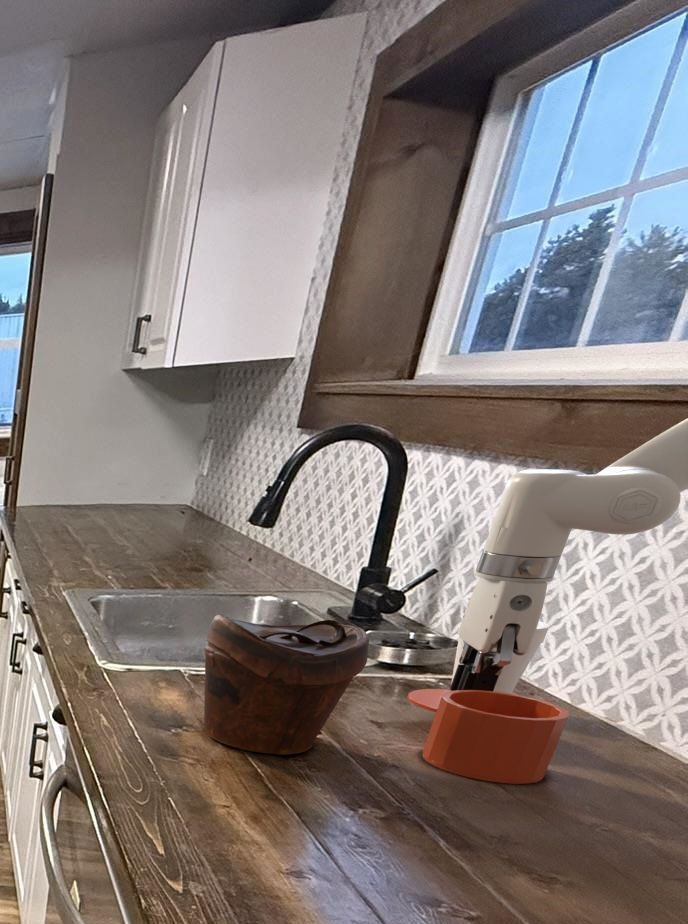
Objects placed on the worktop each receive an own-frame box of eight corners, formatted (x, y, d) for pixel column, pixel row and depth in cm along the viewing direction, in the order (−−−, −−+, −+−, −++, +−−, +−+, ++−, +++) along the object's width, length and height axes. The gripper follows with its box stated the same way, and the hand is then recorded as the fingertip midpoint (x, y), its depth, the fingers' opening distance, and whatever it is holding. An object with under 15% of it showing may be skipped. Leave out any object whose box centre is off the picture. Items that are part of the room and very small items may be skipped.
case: (370, 745, 115) (410, 619, 108) (285, 775, 107) (322, 642, 100) (239, 709, 130) (267, 596, 123) (156, 733, 122) (181, 614, 115)
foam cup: (525, 704, 127) (557, 621, 122) (507, 717, 122) (539, 632, 117) (446, 689, 134) (473, 611, 129) (426, 701, 130) (453, 620, 125)
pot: (520, 755, 110) (544, 695, 107) (561, 789, 100) (588, 724, 97) (410, 744, 115) (429, 686, 112) (439, 775, 105) (461, 713, 102)
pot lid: (502, 701, 121) (519, 658, 118) (541, 730, 110) (560, 683, 108) (394, 691, 126) (408, 650, 123) (421, 719, 116) (437, 674, 113)
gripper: (584, 579, 102) (528, 718, 109) (526, 557, 115) (480, 682, 123) (504, 576, 105) (455, 711, 112) (457, 555, 119) (416, 677, 126)
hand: (469, 694), depth 117 cm, fingers closed on pot lid, 2 cm apart
